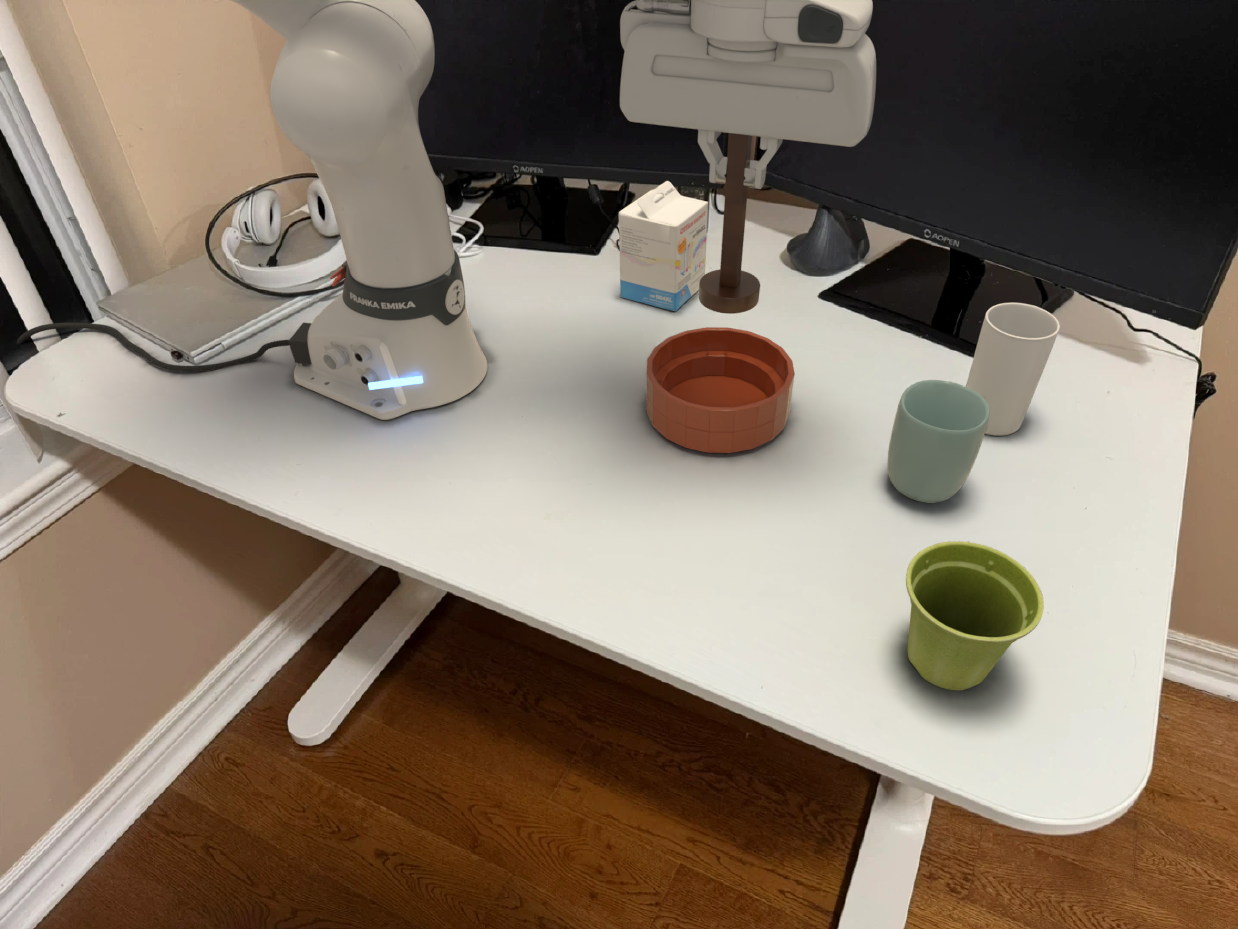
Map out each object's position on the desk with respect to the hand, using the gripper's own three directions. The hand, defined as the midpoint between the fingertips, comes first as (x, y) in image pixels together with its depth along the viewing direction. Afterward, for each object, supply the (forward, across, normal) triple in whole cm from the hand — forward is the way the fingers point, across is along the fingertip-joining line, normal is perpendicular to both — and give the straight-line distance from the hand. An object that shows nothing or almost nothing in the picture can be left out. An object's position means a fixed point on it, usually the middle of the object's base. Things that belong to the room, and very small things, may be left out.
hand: (737, 183), depth 72 cm
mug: (+27, +27, +13) cm, 40 cm away
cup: (+27, +21, -2) cm, 34 cm away
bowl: (+27, -1, +3) cm, 27 cm away
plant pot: (+27, +25, -22) cm, 43 cm away
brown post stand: (+11, 0, 0) cm, 11 cm away
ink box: (+27, -15, +26) cm, 40 cm away
